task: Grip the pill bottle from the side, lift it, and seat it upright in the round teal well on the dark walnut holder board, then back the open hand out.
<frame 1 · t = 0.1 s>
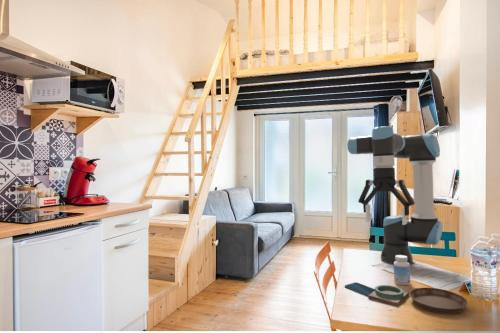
hand: (385, 222, 122), 28 cm above the table, tool pointing down, fingers open, 13 cm apart
smartphone: (364, 292, 127), on the table
pill bottle: (402, 283, 134), on the table
holder board: (389, 296, 121), on the table
plant saucer: (437, 305, 113), on the table
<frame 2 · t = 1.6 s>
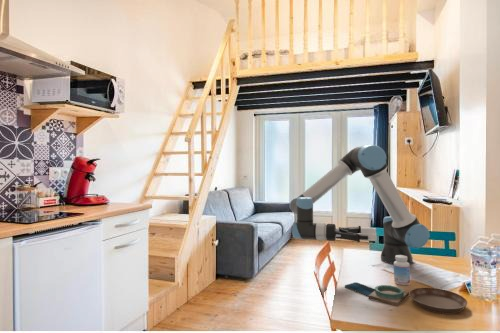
hand: (376, 234, 138), 20 cm above the table, tool horizontal, fingers open, 13 cm apart
nothing on the table moved.
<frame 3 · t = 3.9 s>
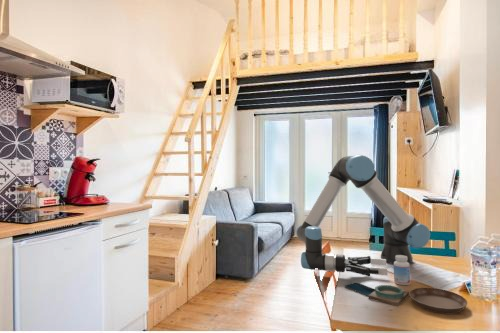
hand: (386, 266, 136), 6 cm above the table, tool horizontal, fingers open, 13 cm apart
nothing on the table moved.
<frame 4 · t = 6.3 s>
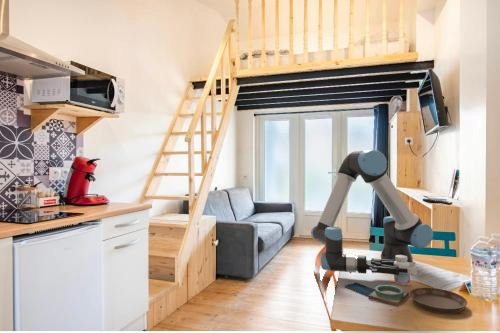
hand: (415, 268, 133), 7 cm above the table, tool horizontal, fingers closed on pill bottle, 6 cm apart
pill bottle: (402, 283, 134), on the table, touching gripper
everything else where it was.
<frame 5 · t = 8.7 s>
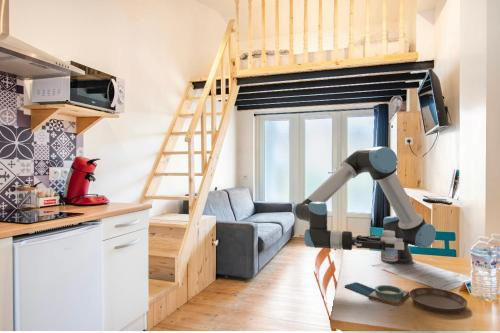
hand: (403, 244, 124), 19 cm above the table, tool horizontal, fingers closed on pill bottle, 6 cm apart
pill bottle: (389, 260, 126), point 12 cm above the table, touching gripper
everything else where it was.
when the fingers open (9 cm above the table, at t = 11.5 s): pill bottle drops 2 cm, resting on holder board.
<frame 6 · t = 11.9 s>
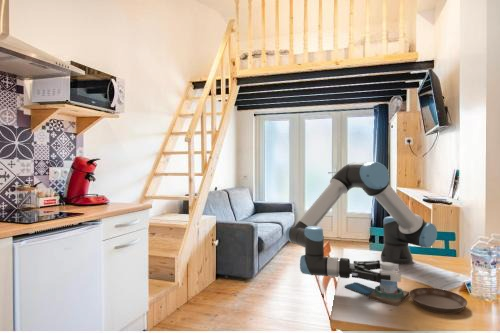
hand: (399, 272, 119), 9 cm above the table, tool horizontal, fingers open, 11 cm apart
pill bottle: (388, 293, 121), point 1 cm above the table, touching holder board
everything else where it was.
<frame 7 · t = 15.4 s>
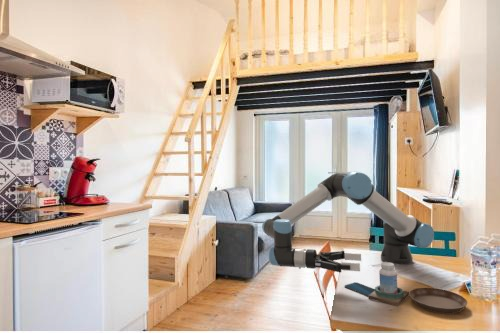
hand: (360, 262, 124), 12 cm above the table, tool horizontal, fingers open, 13 cm apart
nothing on the table moved.
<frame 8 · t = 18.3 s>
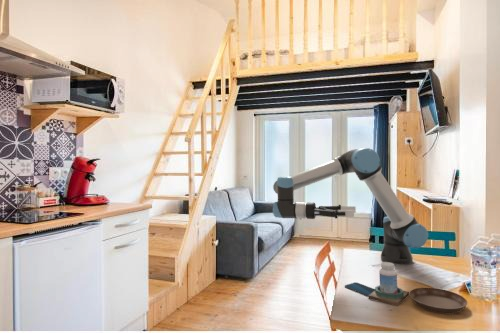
hand: (354, 211, 139), 30 cm above the table, tool horizontal, fingers open, 13 cm apart
nothing on the table moved.
at the end: pill bottle 0.1 cm off-centre on the holder board, point 1.0 cm above the holder board's base; pill bottle tilted 0°; the gripper is holding nothing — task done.
